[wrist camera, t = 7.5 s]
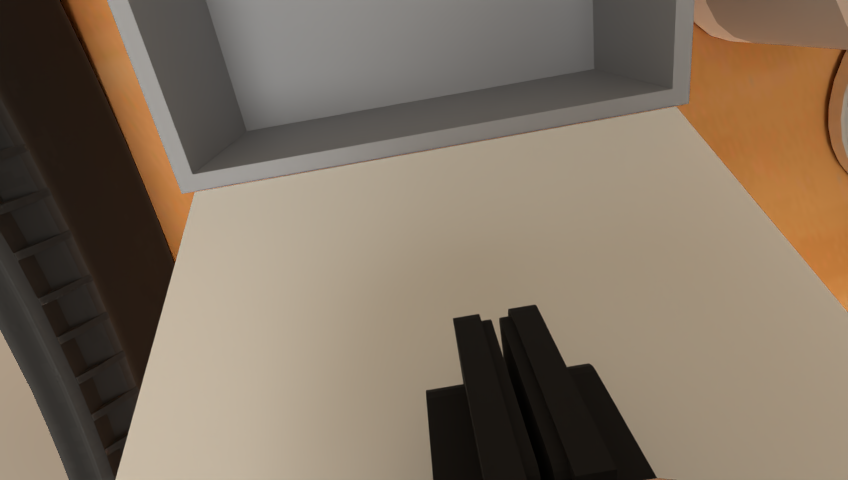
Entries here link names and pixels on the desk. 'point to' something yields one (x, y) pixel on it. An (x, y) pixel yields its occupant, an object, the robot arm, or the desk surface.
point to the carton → (388, 75)
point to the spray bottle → (776, 21)
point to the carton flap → (492, 310)
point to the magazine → (73, 242)
